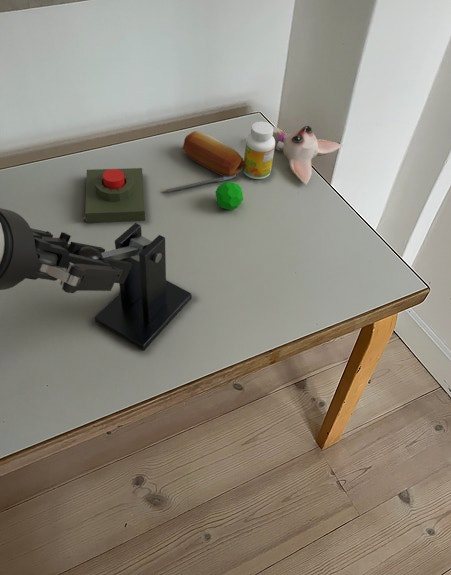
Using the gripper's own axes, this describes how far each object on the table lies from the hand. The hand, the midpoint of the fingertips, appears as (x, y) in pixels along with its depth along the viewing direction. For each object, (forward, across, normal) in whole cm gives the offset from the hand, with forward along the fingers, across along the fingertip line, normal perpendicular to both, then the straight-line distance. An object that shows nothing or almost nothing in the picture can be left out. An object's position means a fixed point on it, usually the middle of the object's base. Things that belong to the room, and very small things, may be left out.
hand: (112, 265), depth 72 cm
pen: (+36, -10, +15) cm, 40 cm away
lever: (0, 0, 0) cm, 0 cm away
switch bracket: (+14, 0, -6) cm, 16 cm away
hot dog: (+37, -12, +19) cm, 43 cm away
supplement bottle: (+42, -3, +22) cm, 48 cm away
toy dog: (+46, -8, +31) cm, 56 cm away
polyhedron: (+34, -2, +13) cm, 37 cm away
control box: (+27, -20, +6) cm, 34 cm away
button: (+24, -20, +8) cm, 32 cm away
